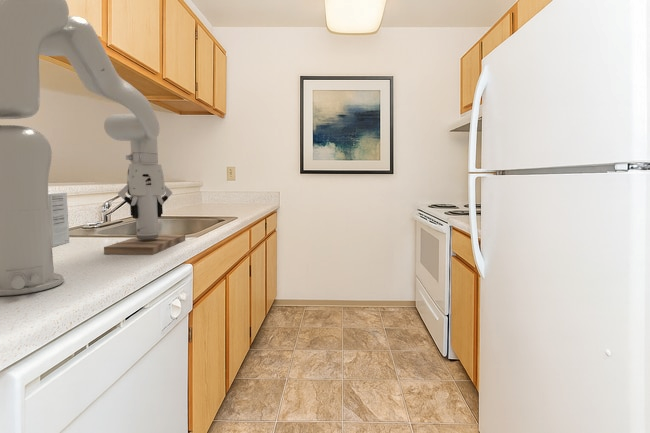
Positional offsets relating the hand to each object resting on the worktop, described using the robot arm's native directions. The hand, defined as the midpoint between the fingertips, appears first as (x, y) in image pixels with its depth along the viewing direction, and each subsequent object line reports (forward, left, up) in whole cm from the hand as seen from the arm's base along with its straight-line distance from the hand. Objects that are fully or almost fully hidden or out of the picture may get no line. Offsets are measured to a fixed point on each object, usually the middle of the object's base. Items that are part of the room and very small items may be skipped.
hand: (147, 217), depth 117 cm
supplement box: (+24, +24, -10) cm, 35 cm away
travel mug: (0, 0, -7) cm, 7 cm away
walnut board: (0, 0, -9) cm, 9 cm away
